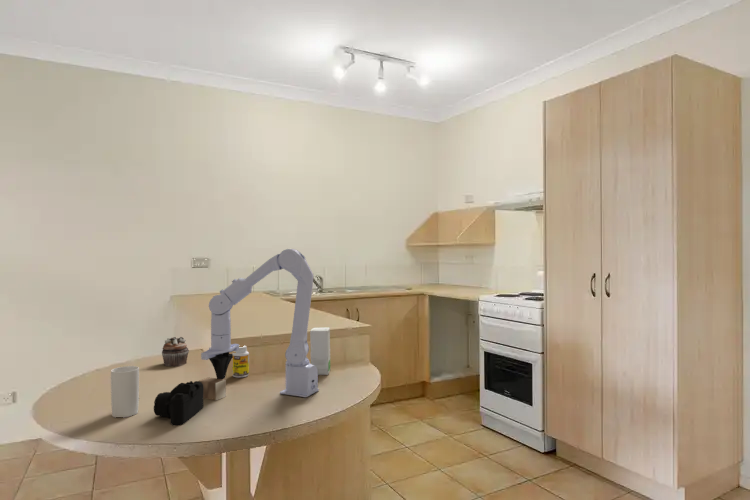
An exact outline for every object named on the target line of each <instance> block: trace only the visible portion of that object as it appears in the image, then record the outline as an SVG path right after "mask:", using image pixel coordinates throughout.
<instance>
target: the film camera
mask: <svg viewBox="0 0 750 500" xmlns="http://www.w3.org/2000/svg"><path fill="white" fill-rule="evenodd" d="M203 389H204V388H203V384H202V382H199V380H196V381H192V380H190V381H189V382H188V381H187V382H186V383H185V382H181V383H178V384H177V385H176V386H175V387H174V388H172V390H170V392H169V391H164V392H160V393H158V394H157V395H156V397H155V399H154V402H153V403H154V405H153V412H154V414H155V416H159V417H163V418H164V417H165V418H166V417H167V418H170V425H171V426H182V425H184V424H185V423H187V422H188V421H190V420H191V419H192V418H194V416H195V417H196V415H197V414H198V413H200V412H201V410H203V409H204V398H203Z"/></svg>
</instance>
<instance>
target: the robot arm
mask: <svg viewBox="0 0 750 500" xmlns="http://www.w3.org/2000/svg"><path fill="white" fill-rule="evenodd" d="M280 270H285V271H286V272H289V273H291V275H292V276H293V277H294V279H296V281H297V284H296V285H297V286H296V295H295V302H294V312H293V320H292V329H291V335H290V339H289V345H288V346H287V348H286V350H285V353H284V354H285V359H286V361H285V389H283V390H280V391H279V394H280V395H288V396H294V397H302V398H307V397H310V396H312V395H313V394H315V393H317V392H319V390H320V389H319V378H318V377H319V375H318V370H317V367H316V366H315V365H312V364H311V362H310V360H309V358H308V356H307V355H308V353H309V351H310V347H309V344H308V343H309V342H308V331H309V330H308V328H309V321H310V311H311V302H312V295H313V288H314V287H313V286H314V277H315V276H314V273H313V271H312V269H311V267H310V265H309V263H308V261H307V258H306V257H305V255H303V254H302V253H301V252H300V251H299V250H297V249H296V248H287V249H283V250H282V251H281V252H280V253H277V254H275V255H273V256H272V257H270V258H269V259H267V260H266V261H265V262H264V263H263V264H262V265H260V266H259V267H257V269H255V270H254V271H253V272H251V274H249V275H248V276H247V277H245V278H244V277H239V278H234V279H232V280H231V282H232V283H231V284H230V285H228V286H227V287H226V288H224V289H221V290H219V294H216V295H213V296H212V298H211V299H210V301H209V303H208V308H209V311H210V313H211V315H210V318H211V319H210V347H208V349H207V350H205V351H203V352H201V353H200V355H201V356H200V357H201V359H200V360H204V361H208V360H209V361H210V362H211V365H212V366H213V368H214V373H215V376H216V377H215V378H217V379H224V380H225V378H226V376H227V371H228V368H229V365H230V363H231V361H232V358H233V352H235V351H238V350H239V346H240V343H231V341H232V340H231V339H232V337H231V336H232V332H231V331H232V328H231V327H232V325H231V324H232V323H231V321H232V320H231V310H232V309H233V306H236V305H238V303H239V302H241V301H242V300H244V299H245V298H246V297H247V296H249V295H250V294H252V289H253V286H254V285H256V284H257V283H259V282H260V281H261V280H263V279H264V278H266V277H267V276H268V275H270V274H271V273H273V272H275V271H280ZM231 352H232V353H231Z"/></svg>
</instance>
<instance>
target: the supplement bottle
mask: <svg viewBox="0 0 750 500" xmlns="http://www.w3.org/2000/svg"><path fill="white" fill-rule="evenodd" d="M234 352H236V353H233V352H232V354H233V367H232V366H231V367H232V369H231V370H232V371H231V372H232V373H233V375H232V377H233V378H239V379H240V378H246V377H248V376H249V374H250V352H249V351H248V347H247V345H244V346H243V347H239V350H238V351H234ZM232 373H231V374H232Z"/></svg>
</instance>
